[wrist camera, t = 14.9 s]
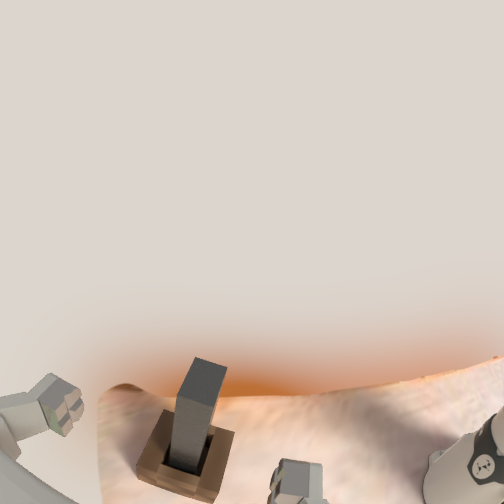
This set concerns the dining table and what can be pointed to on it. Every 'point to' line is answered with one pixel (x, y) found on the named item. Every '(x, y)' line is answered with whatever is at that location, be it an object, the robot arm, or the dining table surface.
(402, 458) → the dining table surface
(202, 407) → the gray rectangular bar
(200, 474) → the brown square socket block
